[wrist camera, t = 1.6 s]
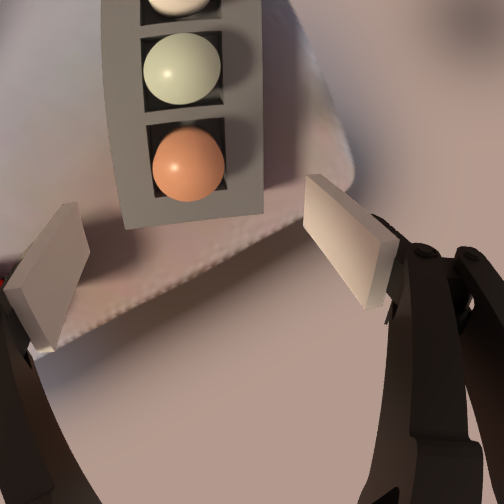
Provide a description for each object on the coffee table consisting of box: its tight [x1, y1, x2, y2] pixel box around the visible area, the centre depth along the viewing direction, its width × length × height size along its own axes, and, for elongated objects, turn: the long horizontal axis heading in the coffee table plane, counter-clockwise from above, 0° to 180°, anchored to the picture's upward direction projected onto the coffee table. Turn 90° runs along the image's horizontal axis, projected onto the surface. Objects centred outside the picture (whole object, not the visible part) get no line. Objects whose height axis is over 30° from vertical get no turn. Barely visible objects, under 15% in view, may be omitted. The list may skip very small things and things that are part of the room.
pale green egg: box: [144, 33, 221, 104], centre depth 19 cm, size 5×5×4 cm
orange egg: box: [153, 125, 224, 202], centre depth 23 cm, size 5×5×4 cm
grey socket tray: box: [101, 0, 264, 230], centre depth 22 cm, size 12×25×5 cm, turn 1°
